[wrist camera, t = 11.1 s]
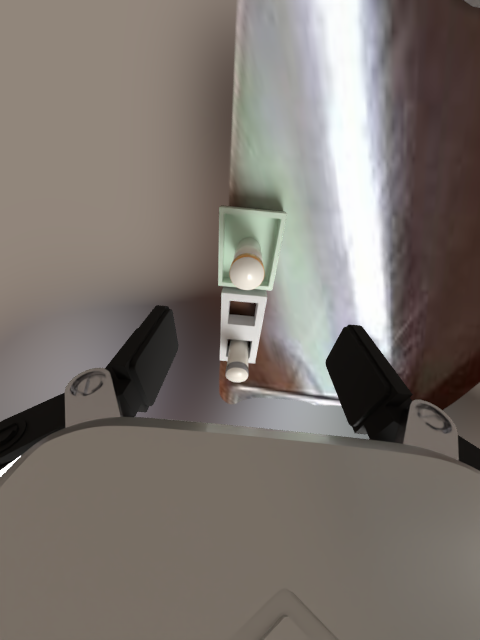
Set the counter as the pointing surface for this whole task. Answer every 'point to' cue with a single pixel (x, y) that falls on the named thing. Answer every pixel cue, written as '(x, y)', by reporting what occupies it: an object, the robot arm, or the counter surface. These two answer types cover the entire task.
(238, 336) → the holder block
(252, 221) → the tray
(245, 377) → the cylinder
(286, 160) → the counter surface
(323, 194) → the counter surface
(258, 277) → the cylinder
